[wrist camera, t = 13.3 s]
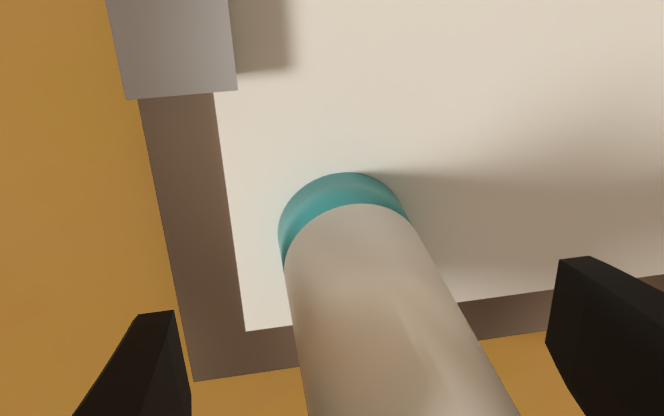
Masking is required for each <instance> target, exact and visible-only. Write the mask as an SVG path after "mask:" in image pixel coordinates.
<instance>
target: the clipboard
mask: <svg viewBox="0 0 664 416" xmlns="http://www.w3.org/2000/svg"><path fill="white" fill-rule="evenodd" d="M105 2H106V7H107V12H108V17H109V22H110V26H111V31H112V36H113V41H114V46H115V50H116V55H117V60H118V65H119V69H120V74H121V79H122V84H123V89H124V93H125V98H126V100H133V99H137V100H138V105H139V110H140V115H141V120H142V125H143V130H144V135H145V140H146V145H147V150H148V155H149V160H150V165H151V170H152V175H153V180H154V185H155V190H156V195H157V200H158V205H159V210H160V215H161V220H162V225H163V230H164V235H165V240H166V245H167V250H168V255H169V260H170V266H171V271H172V276H173V281H174V286H175V291H176V296H177V301H178V306H179V311H180V316H181V321H182V326H183V331H184V336H185V341H186V346H187V351H188V356H189V361H190V366H191V371H192V376H193V381H194V382H198V381H205V380H211V379H218V378H225V377H232V376H239V375H246V374H252V373H259V372H266V371H273V370H280V369H287V368H293V367H300V364H299V359H298V353H297V347H296V341H295V335H294V330H293V325H290V326H283V327H275V328H268V329H261V330H253V331H246V329H245V322H244V315H243V307H242V300H241V293H240V285H239V278H238V271H237V263H236V256H235V249H234V241H233V234H232V227H231V219H230V212H229V205H228V197H227V190H226V182H225V175H224V168H223V160H222V153H221V146H220V138H219V131H218V124H217V116H216V109H215V102H214V94H213V92H224V91H236V90H238V85H237V75H236V66H235V57H234V49H233V40H232V31H231V23H230V14H229V5H228V0H105ZM637 279H639V280H641V281H643V282H645V283H647V284H649V285H651V286H653V287H655V288H657V289H659V290H661V291H662V292H664V274H661V275H654V276H647V277H639V278H637ZM553 292H554V289H552V290H545V291H537V292H530V293H523V294H516V295H508V296H501V297H494V298H486V299H479V300H472V301H465V302H457V304H458V306H459V308H460V310H461V311H462V313H463V315H464V317H465V319H466V320H467V322H468V324H469V326H470V327H471V329H472V331H473V333H474V334H475V336H476V338H477V340H485V339H492V338H499V337H506V336H512V335H519V334H526V333H533V332H540V331H547V328H548V322H549V316H550V310H551V304H552V298H553Z"/></svg>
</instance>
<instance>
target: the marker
mask: <svg viewBox="0 0 664 416" xmlns="http://www.w3.org/2000/svg"><path fill="white" fill-rule="evenodd" d="M278 243H279V248H280V254H281V260H282V266H283V272H284V277H285V283H286V289H287V295H288V301H289V306H290V312H291V318H292V324H293V330H294V335H295V341H296V347H297V353H298V359H299V364H300V370H301V376H302V382H303V388H304V393H305V399H306V405H307V411H308V416H520V414H519V412H518V410H517V408H516V407H515V405H514V403H513V401H512V400H511V398H510V396H509V394H508V393H507V391H506V389H505V387H504V386H503V384H502V382H501V380H500V378H499V377H498V375H497V373H496V371H495V370H494V368H493V366H492V364H491V363H490V361H489V359H488V357H487V356H486V354H485V352H484V350H483V348H482V347H481V345H480V343H479V341H478V340H477V338H476V336H475V334H474V333H473V331H472V329H471V327H470V326H469V324H468V322H467V320H466V319H465V317H464V315H463V313H462V311H461V310H460V308H459V306H458V304H457V303H456V301H455V299H454V297H453V296H452V294H451V292H450V290H449V289H448V287H447V285H446V283H445V281H444V280H443V278H442V276H441V274H440V273H439V271H438V269H437V267H436V266H435V264H434V262H433V260H432V259H431V257H430V255H429V253H428V252H427V250H426V248H425V246H424V244H423V243H422V241H421V239H420V237H419V236H418V234H417V232H416V230H415V229H414V227H413V225H412V223H411V222H410V220H409V218H408V216H407V214H406V213H405V211H404V209H403V207H402V206H401V204H400V202H399V200H398V199H397V197H396V195H395V194H394V193H393V192H392V190H391V189H390V188H389V187H387V186H386V185H385V184H384V183H382V182H381V181H379V180H377V179H375V178H373V177H371V176H368V175H365V174H360V173H352V172H342V173H334V174H330V175H326V176H323V177H320V178H318V179H315V180H313V181H312V182H310V183H308V184H307V185H305V186H304V187H302V188H301V189H300V190H299V191H298V192H297V193H296V194H294V195H293V197H292V198H291V199H290V200H289V202H288V203H287V205H286V206H285V208H284V210H283V212H282V214H281V217H280V220H279V224H278Z"/></svg>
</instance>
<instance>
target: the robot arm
mask: <svg viewBox="0 0 664 416" xmlns="http://www.w3.org/2000/svg"><path fill="white" fill-rule="evenodd" d="M545 344H546V346H547V348H548V350H549V352H550V354H551V356H552V358H553V360H554V363H555V365H556V367H557V369H558V371H559V373H560V375H561V376H562V378H563V380H564V382H565V384H566V386H567V388H568V390H569V391H570V393H571V394H572V396H573V397H574V399H575V400H576V402H577V403H578V405H579V406H580V408H581V409H582V411H583V412H584V414H585V415H586V416H664V292H662V291H661V290H659V289H657V288H655V287H653V286H651V285H649V284H647V283H645V282H643V281H641V280H639V279H637V278H635V277H633V276H631V275H629V274H627V273H625V272H623V271H621V270H619V269H617V268H615V267H613V266H611V265H609V264H607V263H605V262H603V261H601V260H598V259H596V258H594V257H591V256H582V257H574V258H566V259H559V263H558V269H557V274H556V280H555V286H554V292H553V298H552V304H551V310H550V316H549V322H548V328H547V334H546V340H545ZM72 416H191V391H190V387H189V382H188V377H187V372H186V367H185V362H184V357H183V352H182V347H181V343H180V338H179V333H178V328H177V323H176V318H175V313H174V310H169V311H161V312H154V313H146V314H138V316H137V317H136V318H135V319H134V320H133V321H132V323H131V325H130V327H129V328H128V330H127V332H126V333H125V335H124V337H123V338H122V340H121V342H120V343H119V345H118V347H117V348H116V350H115V352H114V353H113V355H112V356H111V358H110V360H109V361H108V363H107V364H106V366H105V368H104V369H103V371H102V372H101V374H100V375H99V377H98V378H97V380H96V381H95V383H94V384H93V386H92V387H91V389H90V390H89V391H88V393H87V394H86V396H85V397H84V399H83V400H82V402H81V403H80V405H79V406H78V408H77V409H76V410H75V412H74V413H73V414H72Z"/></svg>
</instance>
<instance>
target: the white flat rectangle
mask: <svg viewBox="0 0 664 416" xmlns="http://www.w3.org/2000/svg"><path fill="white" fill-rule="evenodd" d="M228 5H229V14H230V23H231V31H232V40H233V49H234V57H235V66H236V75H237V85H238V90H236V91H224V92H213V94H214V102H215V109H216V116H217V124H218V131H219V138H220V146H221V153H222V160H223V168H224V175H225V182H226V190H227V197H228V205H229V212H230V219H231V227H232V234H233V241H234V249H235V256H236V263H237V271H238V278H239V285H240V293H241V300H242V307H243V315H244V322H245V329H246V331H253V330H261V329H268V328H275V327H283V326H290V325H293V324H292V318H291V312H290V306H289V301H288V295H287V289H286V283H285V277H284V272H283V266H282V260H281V254H280V248H279V243H278V224H279V220H280V217H281V214H282V212H283V210H284V208H285V206H286V205H287V203H288V202H289V200H290V199H291V198H292V197H293V195H294V194H296V193H297V192H298V191H299V190H300V189H301V188H302V187H304V186H305V185H307V184H308V183H310V182H312V181H313V180H315V179H318V178H320V177H323V176H326V175H330V174H334V173H342V172H352V173H360V174H365V175H368V176H371V177H373V178H375V179H377V180H379V181H381V182H382V183H384V184H385V185H386V186H387V187H389V188H390V189H391V190H392V192H393V193H394V194H395V195H396V197H397V199H398V200H399V202H400V204H401V206H402V207H403V209H404V211H405V213H406V214H407V216H408V218H409V220H410V222H411V223H412V225H413V227H414V229H415V230H416V232H417V234H418V236H419V237H420V239H421V241H422V243H423V244H424V246H425V248H426V250H427V252H428V253H429V255H430V257H431V259H432V260H433V262H434V264H435V266H436V267H437V269H438V271H439V273H440V274H441V276H442V278H443V280H444V281H445V283H446V285H447V287H448V289H449V290H450V292H451V294H452V296H453V297H454V299H455V301H456V303H457V302H465V301H472V300H479V299H486V298H494V297H501V296H508V295H516V294H523V293H530V292H537V291H545V290H552V289H554V286H555V280H556V274H557V269H558V263H559V259H566V258H574V257H582V256H591V257H594V258H596V259H598V260H601V261H603V262H605V263H607V264H609V265H611V266H613V267H615V268H617V269H619V270H621V271H623V272H625V273H627V274H629V275H631V276H633V277H635V278H639V277H647V276H654V275H661V274H664V0H228Z"/></svg>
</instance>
